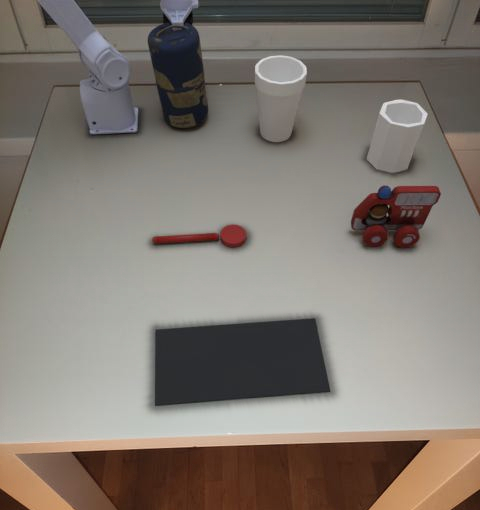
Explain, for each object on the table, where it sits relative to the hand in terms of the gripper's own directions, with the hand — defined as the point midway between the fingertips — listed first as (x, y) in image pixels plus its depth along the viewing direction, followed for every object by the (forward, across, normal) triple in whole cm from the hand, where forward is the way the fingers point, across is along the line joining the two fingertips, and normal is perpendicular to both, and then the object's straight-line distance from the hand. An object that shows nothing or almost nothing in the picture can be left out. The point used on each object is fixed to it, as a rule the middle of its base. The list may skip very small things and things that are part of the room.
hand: (181, 53), depth 95 cm
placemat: (+9, -66, -6) cm, 66 cm away
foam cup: (+10, -14, -18) cm, 25 cm away
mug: (+10, -22, -39) cm, 46 cm away
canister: (+9, -8, 0) cm, 12 cm away
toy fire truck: (+10, -43, -33) cm, 55 cm away
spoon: (+9, -42, -2) cm, 43 cm away
